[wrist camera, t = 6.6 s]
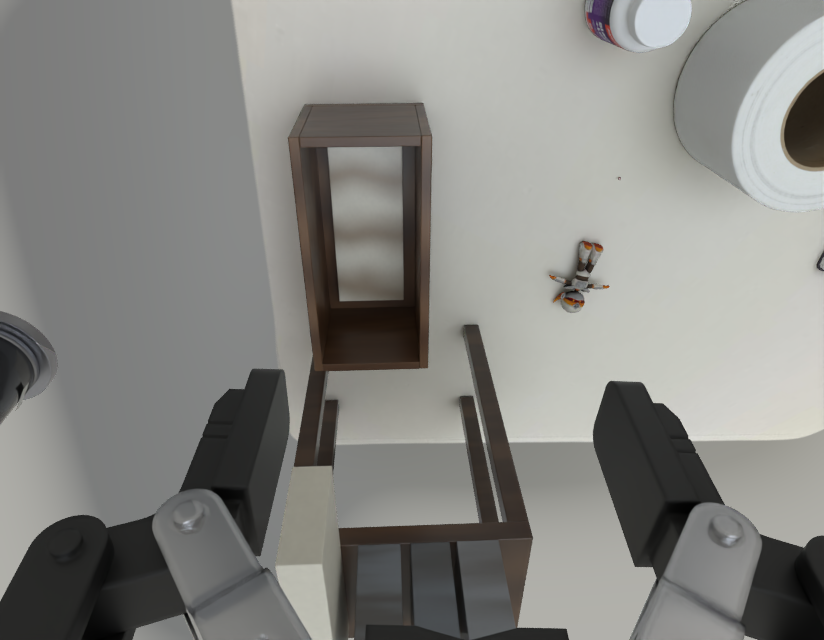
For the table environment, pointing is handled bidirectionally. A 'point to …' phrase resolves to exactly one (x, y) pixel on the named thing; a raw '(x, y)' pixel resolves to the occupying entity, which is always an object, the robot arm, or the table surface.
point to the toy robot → (580, 278)
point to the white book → (313, 554)
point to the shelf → (435, 530)
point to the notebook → (821, 263)
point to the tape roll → (759, 102)
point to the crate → (364, 232)
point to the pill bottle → (638, 22)
